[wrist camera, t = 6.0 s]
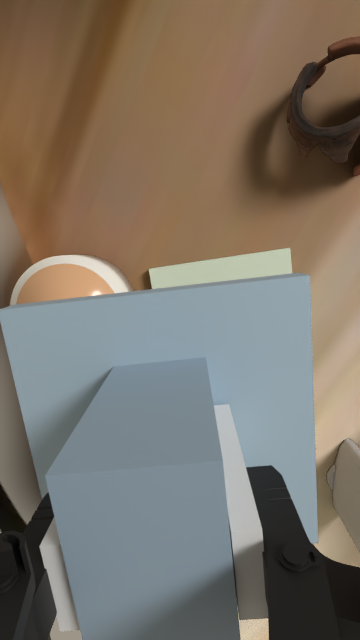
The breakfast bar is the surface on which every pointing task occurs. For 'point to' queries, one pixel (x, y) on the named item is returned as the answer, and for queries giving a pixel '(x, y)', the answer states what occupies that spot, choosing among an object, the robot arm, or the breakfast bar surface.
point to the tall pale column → (347, 487)
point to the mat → (223, 269)
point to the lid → (162, 439)
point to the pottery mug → (330, 138)
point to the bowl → (69, 279)
